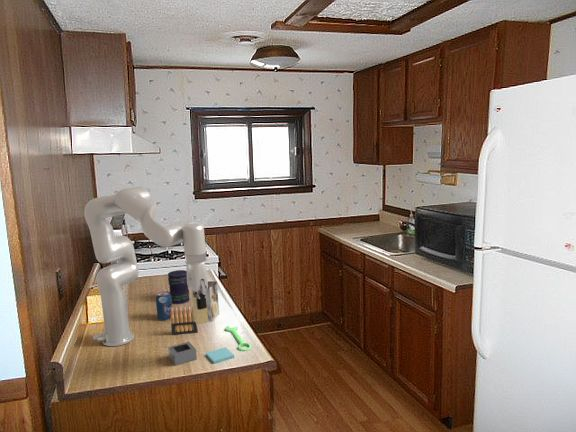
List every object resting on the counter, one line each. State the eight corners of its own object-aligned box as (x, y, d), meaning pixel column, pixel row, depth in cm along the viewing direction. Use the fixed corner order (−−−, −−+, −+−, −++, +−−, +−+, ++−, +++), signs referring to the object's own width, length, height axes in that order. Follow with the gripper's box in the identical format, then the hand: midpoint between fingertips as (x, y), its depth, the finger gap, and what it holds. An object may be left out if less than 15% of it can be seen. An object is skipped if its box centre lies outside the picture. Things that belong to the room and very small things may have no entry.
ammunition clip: (171, 335, 188) (169, 308, 187) (172, 333, 190) (169, 306, 188) (197, 332, 190) (195, 305, 188) (197, 331, 192) (195, 304, 190)
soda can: (168, 321, 204) (166, 296, 202) (154, 320, 205) (152, 295, 203) (175, 315, 210) (173, 291, 208) (162, 315, 212) (159, 290, 210)
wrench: (236, 328, 195) (224, 330, 193) (235, 324, 195) (223, 326, 193) (253, 350, 172) (240, 353, 170) (253, 345, 172) (239, 348, 170)
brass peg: (197, 324, 162) (195, 298, 161) (194, 321, 166) (191, 295, 164) (208, 321, 164) (206, 295, 163) (204, 318, 168) (202, 292, 166)
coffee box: (206, 313, 211) (204, 280, 209) (219, 314, 210) (217, 281, 207) (199, 321, 202) (196, 287, 200) (212, 321, 201) (209, 287, 198)
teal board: (214, 363, 162) (213, 361, 162) (206, 355, 169) (205, 352, 169) (234, 357, 166) (234, 355, 166) (225, 349, 173) (225, 347, 173)
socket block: (175, 365, 162) (174, 355, 161) (169, 357, 169) (168, 347, 168) (196, 359, 166) (195, 349, 165) (189, 351, 173) (188, 341, 172)
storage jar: (166, 303, 227) (163, 275, 224) (175, 297, 236) (173, 269, 234) (184, 304, 224) (182, 275, 222) (193, 298, 234) (190, 270, 231)
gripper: (178, 255, 167) (183, 302, 169) (193, 264, 152) (197, 316, 155) (198, 252, 170) (202, 298, 173) (214, 260, 156) (218, 311, 159)
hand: (200, 306), depth 164 cm, fingers closed on brass peg, 4 cm apart
